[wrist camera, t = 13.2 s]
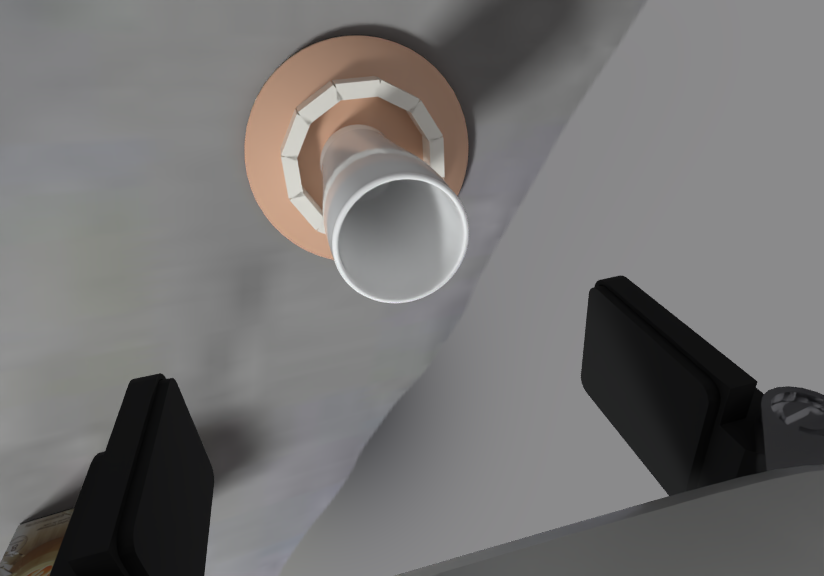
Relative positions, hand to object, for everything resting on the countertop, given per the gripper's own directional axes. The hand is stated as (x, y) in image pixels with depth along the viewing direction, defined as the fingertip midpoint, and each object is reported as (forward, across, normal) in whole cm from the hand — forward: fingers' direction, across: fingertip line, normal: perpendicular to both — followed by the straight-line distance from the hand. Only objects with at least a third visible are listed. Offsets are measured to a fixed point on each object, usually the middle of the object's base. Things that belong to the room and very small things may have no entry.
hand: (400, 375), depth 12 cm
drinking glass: (+28, -3, +3) cm, 28 cm away
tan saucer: (+29, -3, +3) cm, 29 cm away
